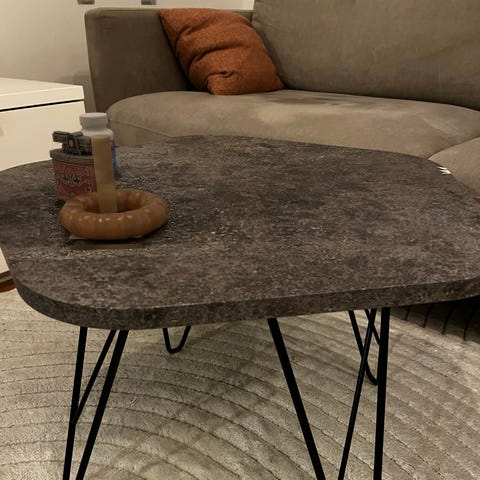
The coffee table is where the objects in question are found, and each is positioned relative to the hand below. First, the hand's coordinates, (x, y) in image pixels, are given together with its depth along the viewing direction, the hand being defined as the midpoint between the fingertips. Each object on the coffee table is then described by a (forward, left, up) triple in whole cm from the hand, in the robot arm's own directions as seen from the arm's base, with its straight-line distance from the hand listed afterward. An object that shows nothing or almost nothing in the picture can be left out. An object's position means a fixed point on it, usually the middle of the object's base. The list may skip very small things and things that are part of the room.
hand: (117, 4), depth 59 cm
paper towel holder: (-3, -2, -24) cm, 24 cm away
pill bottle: (-8, +23, -24) cm, 34 cm away
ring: (-2, -2, -21) cm, 21 cm away
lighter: (-8, +9, -24) cm, 27 cm away
